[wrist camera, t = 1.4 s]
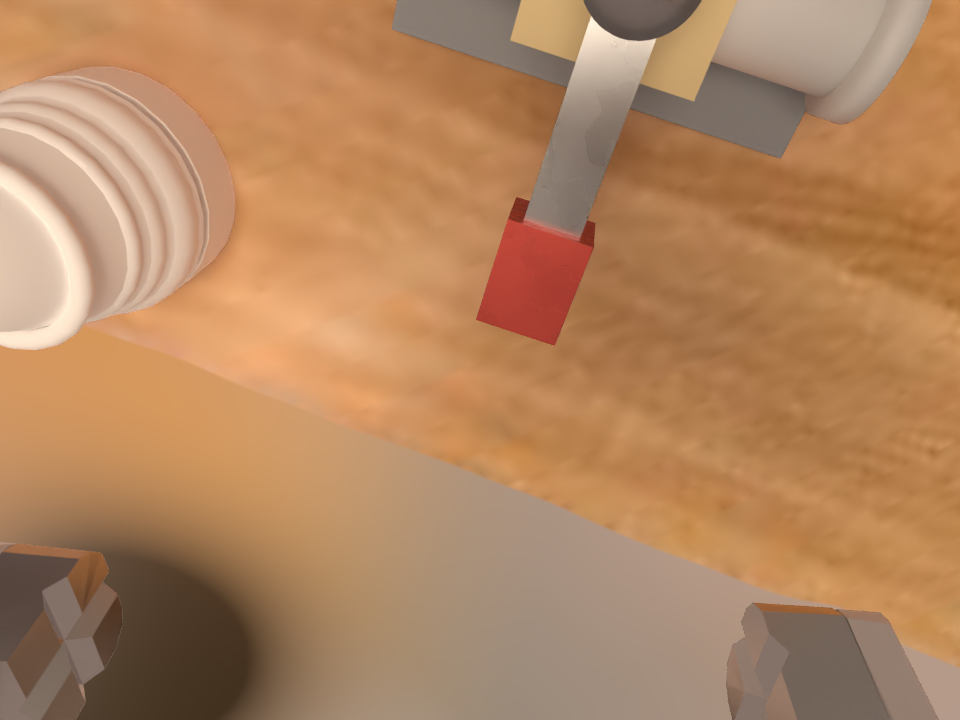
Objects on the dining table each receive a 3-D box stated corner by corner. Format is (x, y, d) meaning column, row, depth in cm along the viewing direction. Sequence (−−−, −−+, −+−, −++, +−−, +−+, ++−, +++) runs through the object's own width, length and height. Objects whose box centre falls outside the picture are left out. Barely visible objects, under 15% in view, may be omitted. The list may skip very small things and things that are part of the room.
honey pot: (90, 287, 47) (-161, 454, 32) (-7, 85, 41) (-375, 172, 26) (264, 267, 44) (80, 440, 29) (187, 46, 38) (-98, 119, 23)
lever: (607, -121, 20) (606, -128, 18) (725, -82, 20) (737, -84, 18) (479, 289, 28) (468, 316, 26) (566, 318, 28) (562, 348, 26)
